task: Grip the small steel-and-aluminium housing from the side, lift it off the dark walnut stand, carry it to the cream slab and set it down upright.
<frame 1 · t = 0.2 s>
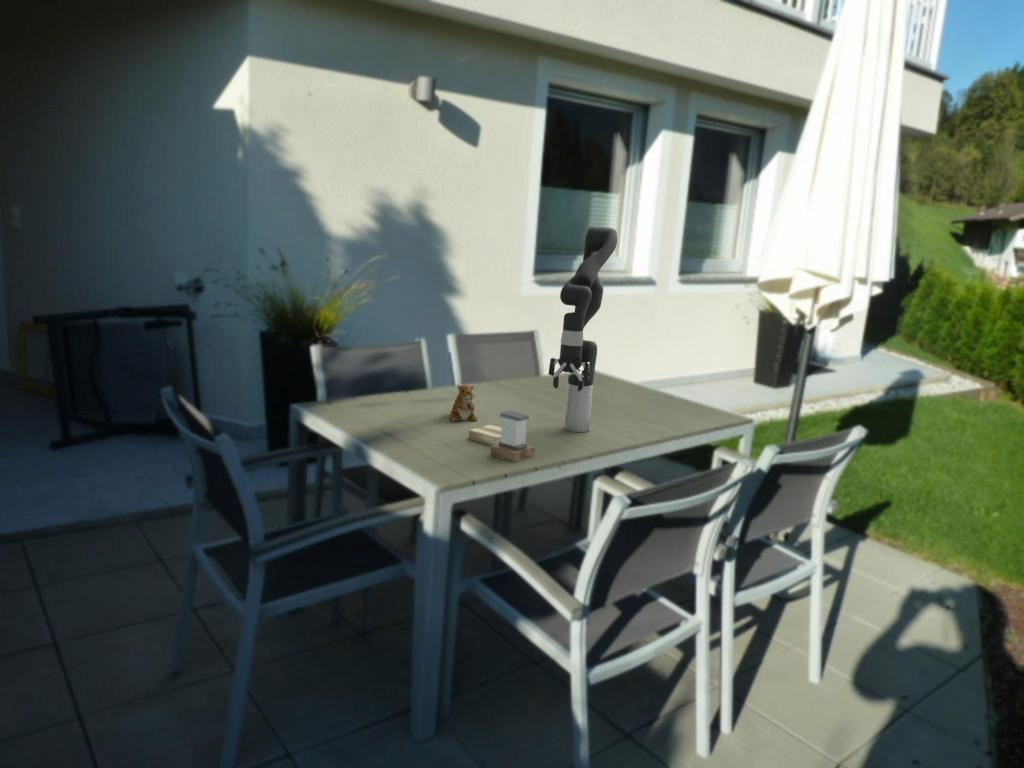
hand: (567, 389, 264), 18 cm above the table, tool pointing down, fingers open, 8 cm apart
stuffed squirrel: (462, 418, 286), on the table
cream slab: (493, 439, 261), on the table
walnut stand: (512, 455, 244), on the table
housing: (512, 446, 244), point 3 cm above the table, touching walnut stand
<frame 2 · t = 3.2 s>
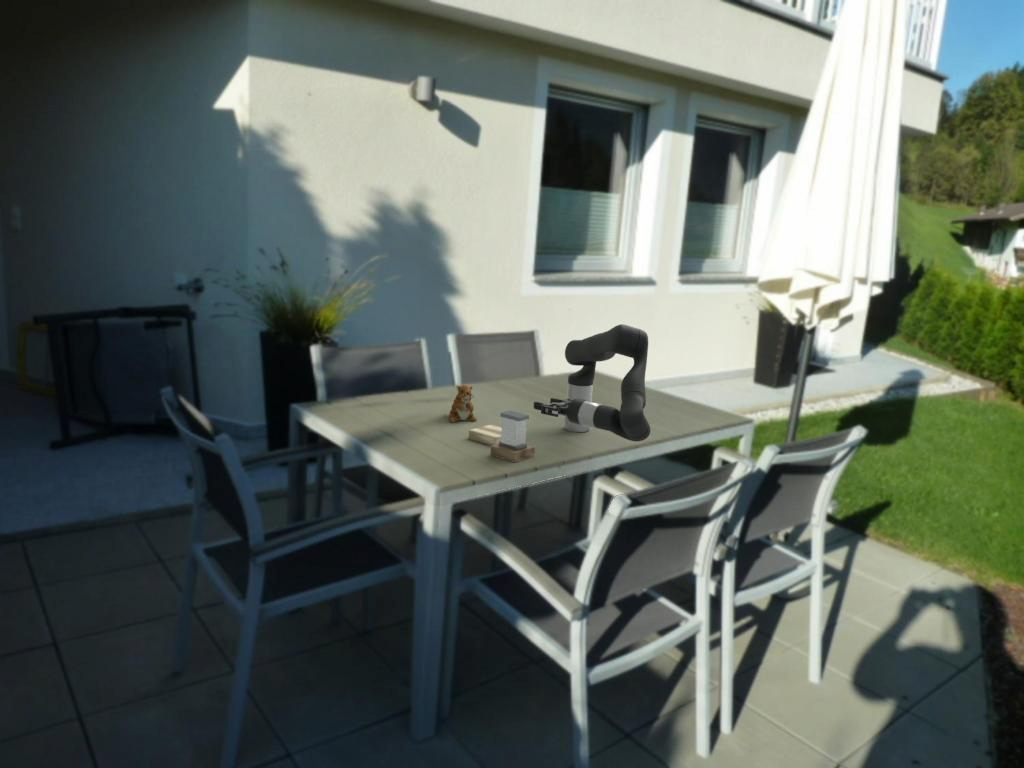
hand: (542, 403, 234), 20 cm above the table, tool horizontal, fingers open, 8 cm apart
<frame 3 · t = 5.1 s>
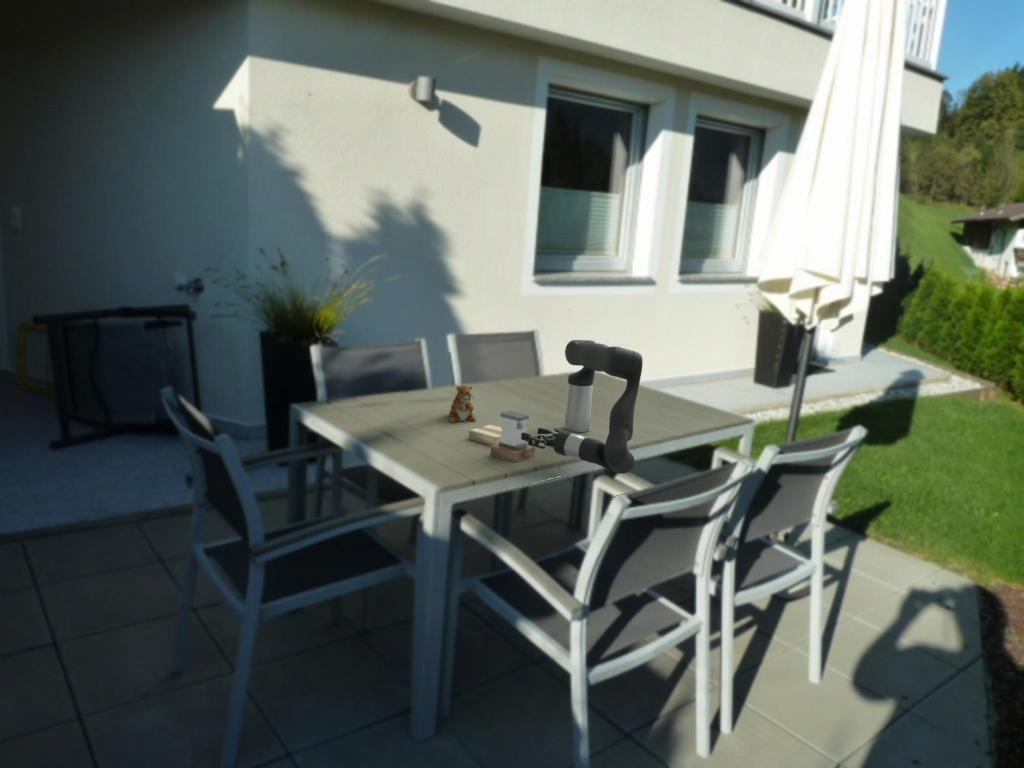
hand: (530, 433, 239), 9 cm above the table, tool horizontal, fingers open, 8 cm apart
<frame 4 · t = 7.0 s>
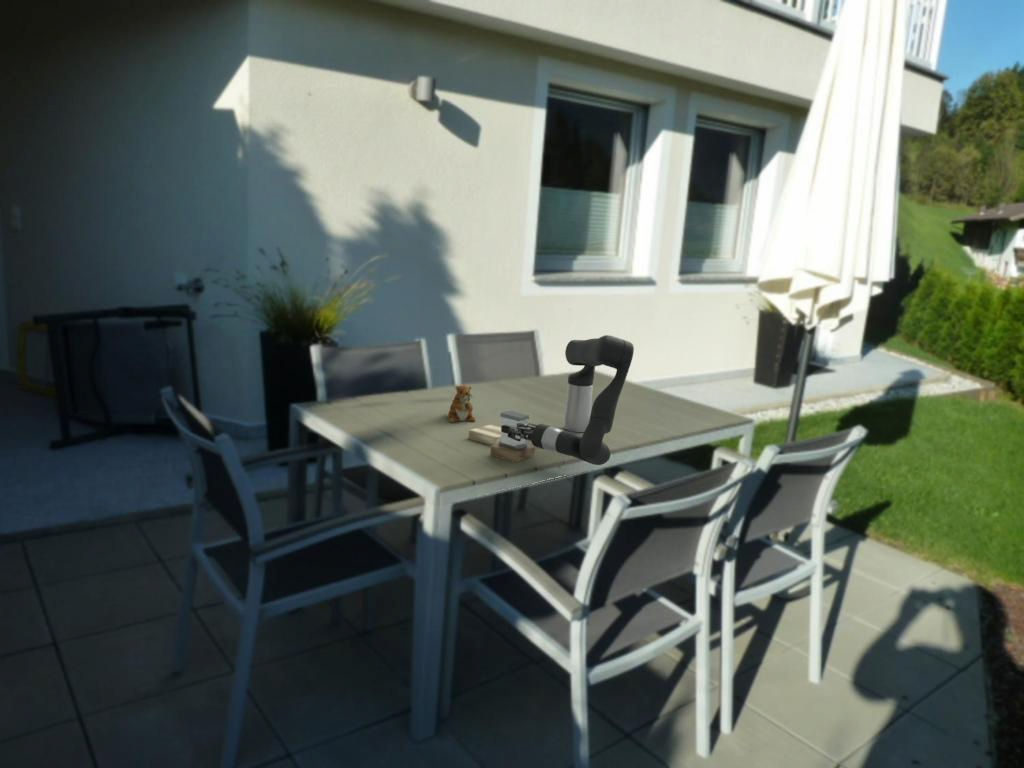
hand: (507, 426, 244), 9 cm above the table, tool horizontal, fingers closed on housing, 5 cm apart
housing: (512, 446, 244), point 3 cm above the table, touching gripper, walnut stand
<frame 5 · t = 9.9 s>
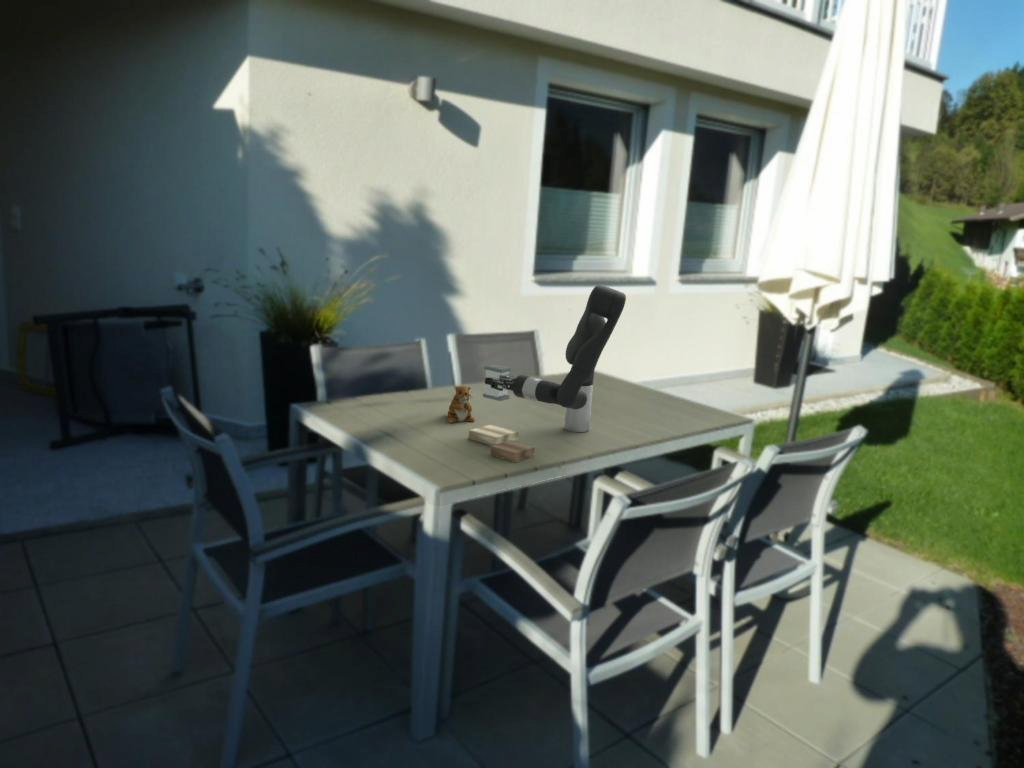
hand: (491, 379, 258), 21 cm above the table, tool horizontal, fingers closed on housing, 5 cm apart
housing: (496, 397, 258), point 15 cm above the table, touching gripper
when the fingers open (10 cm above the table, at t = 12.4 s): housing stays where it is, resting on cream slab.
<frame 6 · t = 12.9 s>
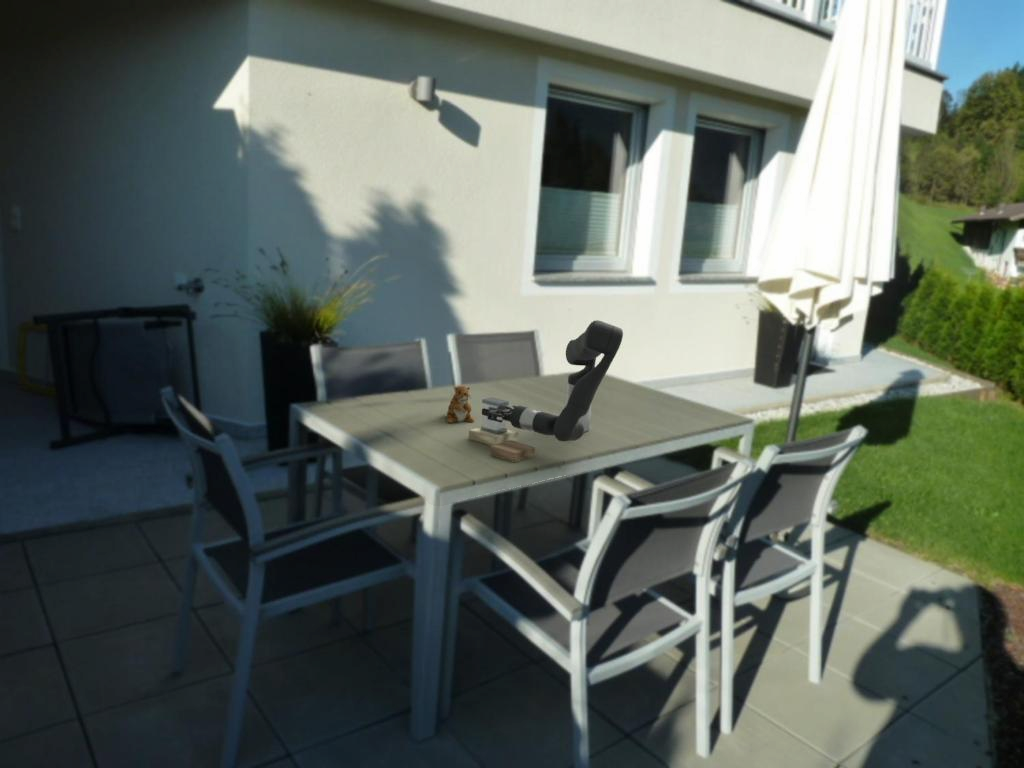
hand: (490, 409, 260), 10 cm above the table, tool horizontal, fingers open, 8 cm apart
housing: (493, 430, 260), point 3 cm above the table, touching cream slab
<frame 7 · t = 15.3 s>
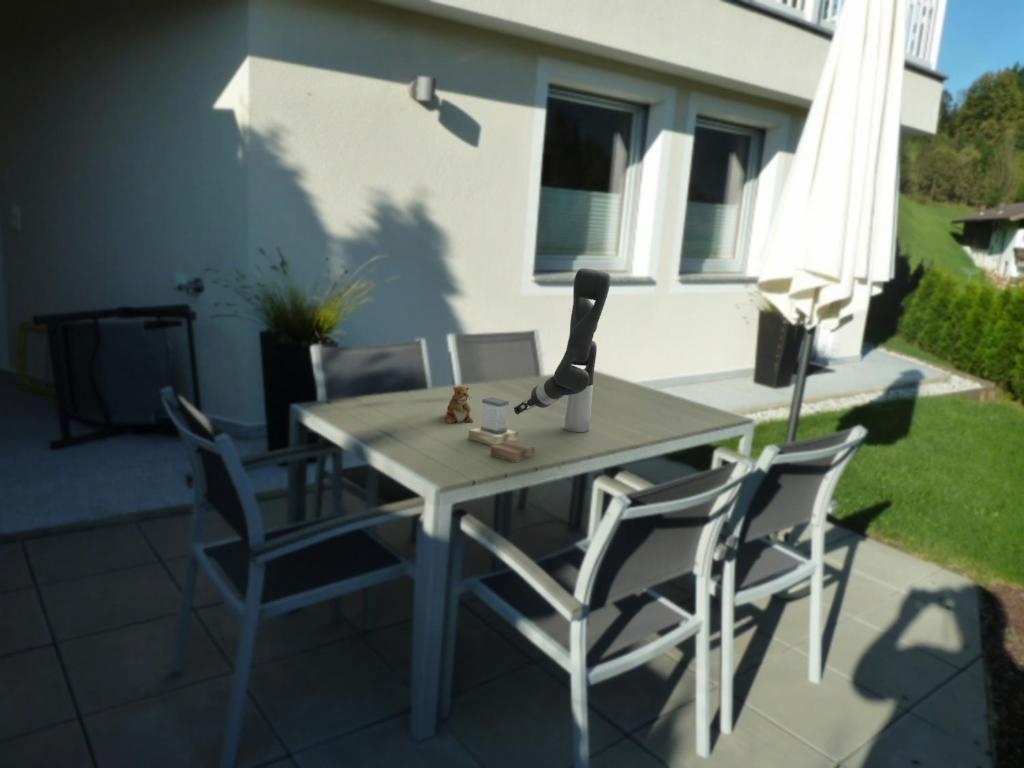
hand: (525, 406, 256), 13 cm above the table, tool tilted 60°, fingers open, 8 cm apart
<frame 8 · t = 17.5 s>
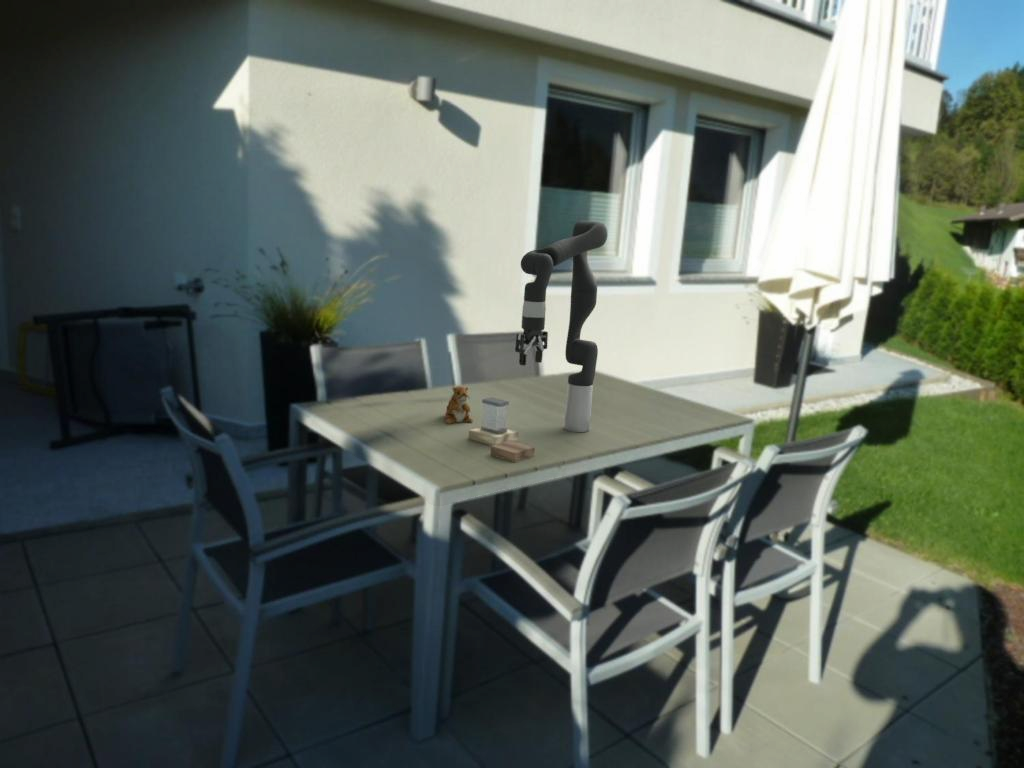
hand: (530, 363, 250), 28 cm above the table, tool pointing down, fingers open, 8 cm apart
at the end: housing inside the target area on the cream slab (0.1 cm from its centre), point 3.0 cm above the cream slab's base; housing tilted 0°; the gripper is holding nothing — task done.
